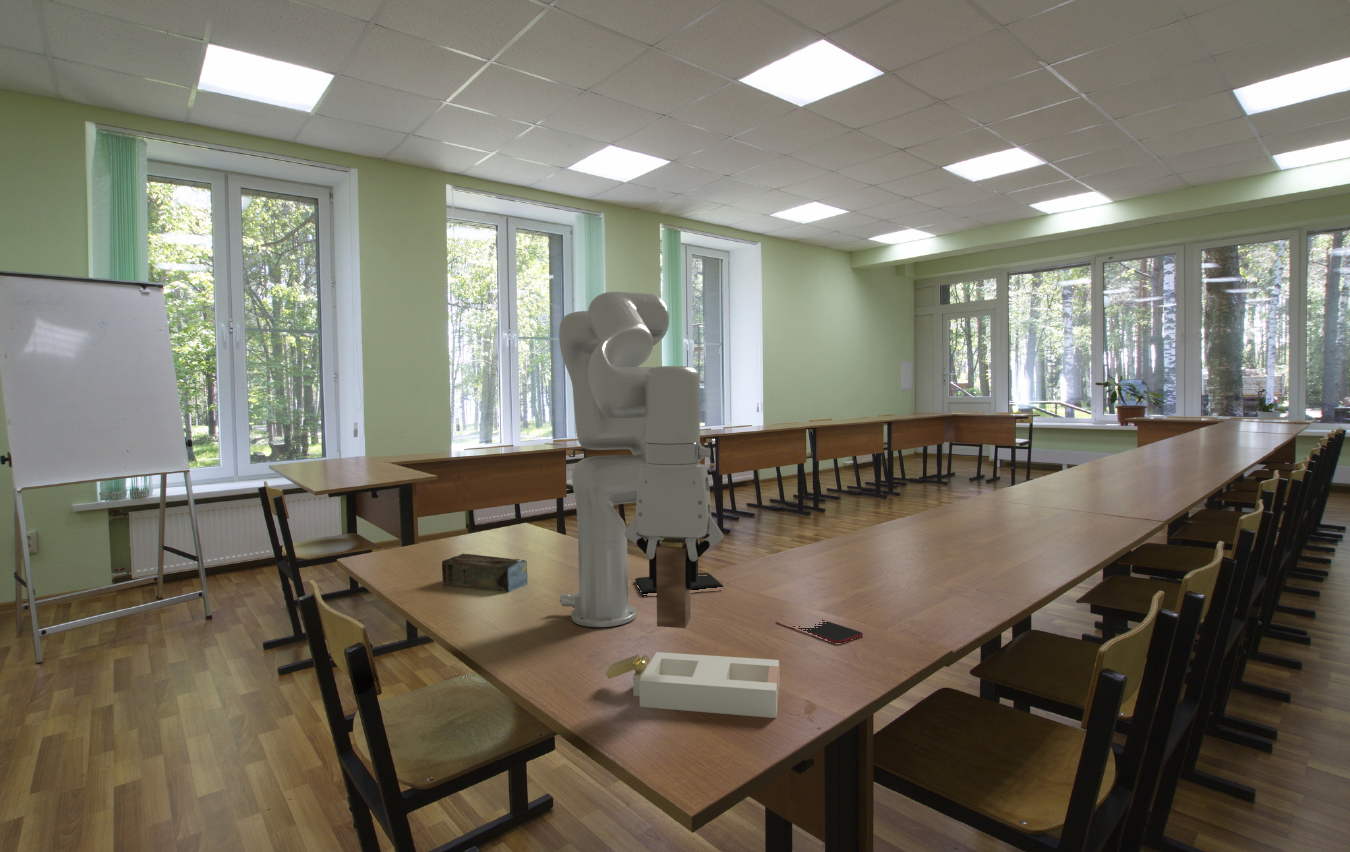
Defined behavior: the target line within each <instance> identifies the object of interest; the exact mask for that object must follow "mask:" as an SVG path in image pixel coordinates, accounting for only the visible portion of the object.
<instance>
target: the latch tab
mask: <svg viewBox="0 0 1350 852" xmlns="http://www.w3.org/2000/svg"><path fill="white" fill-rule="evenodd" d="M649 663H650V657H649V656H648V655H646V654H645V655H642V656H640V654H636V655H633V656H631V657H628V658H625V659H622V660H620V661H617V662H614V663H612V664H611V665H610V666H609V667H608V669H607V670H606V672H605V675H606V677H607V680H609V679H612V678H615V677H618V676H621V675H623V674H628V673H630V672H632V671H635V672H636V673H638V674H641V673H642V672H643V671H644V669H645V667H646V666H647V665H649ZM635 672H634V673H635Z"/></svg>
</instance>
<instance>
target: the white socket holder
mask: <svg viewBox="0 0 1350 852" xmlns="http://www.w3.org/2000/svg"><path fill="white" fill-rule="evenodd" d="M632 682H633V683H632V685H633V687H632V688H633V689H632V691H633V692H632V693H633V696H634V697H639V707H640V708H648V709H649V708H650V709H662V710H673V711H676V710H677V711H687V712H699V713H700V712H701V713H711V714H723V715H734V716H735V715H737V716H747V717H757V718H758V717H761V718H770V719H777V717H778V716H777V715H778V704H779V691H780V660H779V659H771V658H770V659H768V658H754V657H753V658H751V657H737V656H722V655H706V654H692V653H691V654H690V653H676V652H663V651H662V652H660V651H655V653H654V656H653V657H652V659H651V661H649V663H648V664H647V666H646V667H645V669H644V671H643V672H642V673H641V674H638V673H636V672H634V673H633V675H632Z"/></svg>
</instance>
